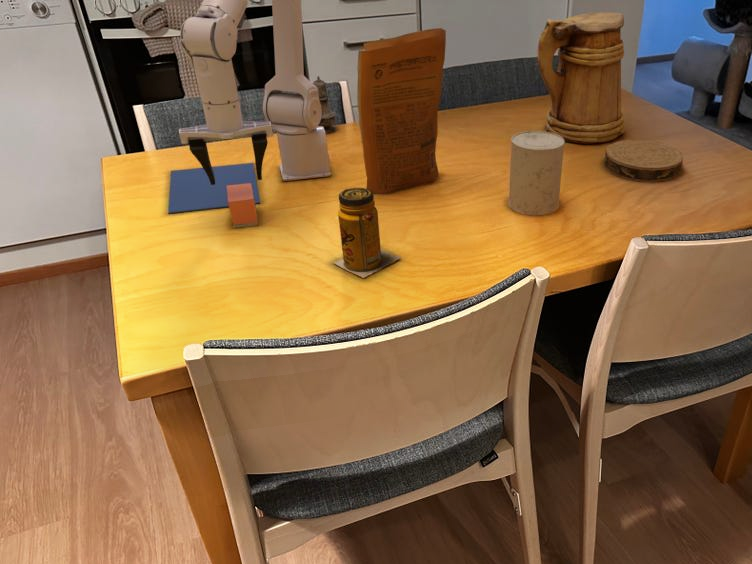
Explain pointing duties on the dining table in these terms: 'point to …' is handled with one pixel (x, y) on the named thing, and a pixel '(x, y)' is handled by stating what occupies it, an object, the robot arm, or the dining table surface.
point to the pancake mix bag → (400, 108)
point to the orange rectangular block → (242, 205)
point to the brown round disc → (643, 160)
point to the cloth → (208, 187)
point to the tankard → (584, 76)
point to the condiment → (361, 233)
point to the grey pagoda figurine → (325, 107)
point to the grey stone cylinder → (535, 172)
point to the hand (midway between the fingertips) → (236, 180)
